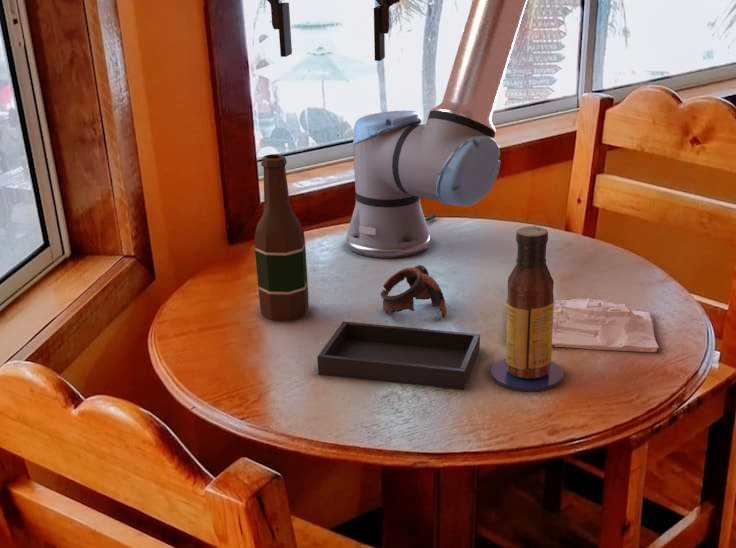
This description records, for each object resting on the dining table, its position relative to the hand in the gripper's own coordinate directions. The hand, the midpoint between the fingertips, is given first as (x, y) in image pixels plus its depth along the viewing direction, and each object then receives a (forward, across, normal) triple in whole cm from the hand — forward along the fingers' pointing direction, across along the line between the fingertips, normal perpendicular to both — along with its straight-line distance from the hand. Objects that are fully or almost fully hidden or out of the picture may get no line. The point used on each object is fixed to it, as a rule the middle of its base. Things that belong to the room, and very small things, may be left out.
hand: (332, 57), depth 137 cm
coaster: (+37, +32, -18) cm, 52 cm away
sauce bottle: (+36, +32, -18) cm, 52 cm away
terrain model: (+37, +38, -1) cm, 53 cm away
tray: (+37, +14, -18) cm, 43 cm away
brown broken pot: (+37, +12, 0) cm, 39 cm away
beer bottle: (+37, -8, -5) cm, 38 cm away
